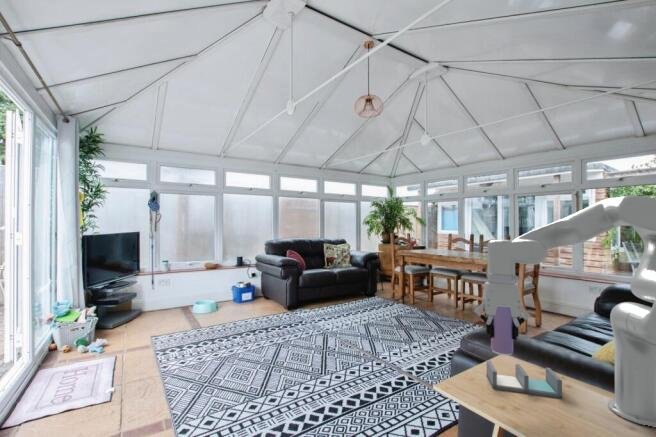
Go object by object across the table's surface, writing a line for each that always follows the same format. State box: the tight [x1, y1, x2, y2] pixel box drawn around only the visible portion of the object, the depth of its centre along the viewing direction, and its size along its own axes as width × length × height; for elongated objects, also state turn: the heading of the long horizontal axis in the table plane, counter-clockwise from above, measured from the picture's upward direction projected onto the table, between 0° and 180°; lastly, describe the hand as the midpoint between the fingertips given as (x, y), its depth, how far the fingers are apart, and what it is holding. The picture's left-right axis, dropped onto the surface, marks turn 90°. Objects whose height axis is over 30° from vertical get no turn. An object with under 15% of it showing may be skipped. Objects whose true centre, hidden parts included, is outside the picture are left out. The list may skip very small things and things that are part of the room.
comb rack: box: [486, 359, 563, 399], centre depth 104 cm, size 20×9×6 cm, turn 74°
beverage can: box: [490, 305, 514, 356], centre depth 96 cm, size 6×6×15 cm
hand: (501, 337), depth 96 cm, fingers closed on beverage can, 6 cm apart
